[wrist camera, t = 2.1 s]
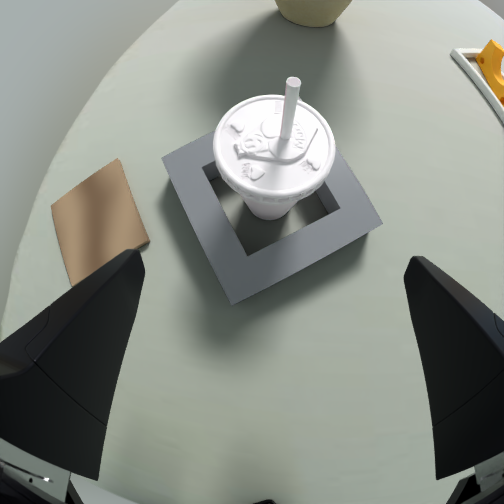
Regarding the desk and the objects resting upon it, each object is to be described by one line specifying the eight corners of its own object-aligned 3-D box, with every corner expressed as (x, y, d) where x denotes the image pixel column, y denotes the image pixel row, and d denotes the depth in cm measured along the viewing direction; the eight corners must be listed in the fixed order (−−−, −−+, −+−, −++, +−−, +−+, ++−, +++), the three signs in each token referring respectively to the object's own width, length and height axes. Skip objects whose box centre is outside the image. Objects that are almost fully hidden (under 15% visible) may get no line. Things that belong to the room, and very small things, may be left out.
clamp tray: (518, 150, 23) (524, 146, 22) (449, 53, 25) (453, 48, 24) (537, 135, 24) (541, 132, 22) (479, 53, 26) (482, 48, 24)
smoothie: (318, 222, 22) (391, 136, 9) (244, 247, 22) (219, 181, 8) (291, 155, 23) (318, 29, 9) (220, 176, 23) (180, 57, 9)
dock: (235, 303, 22) (231, 305, 19) (171, 172, 23) (161, 157, 20) (368, 231, 22) (383, 223, 19) (295, 115, 24) (299, 96, 21)
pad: (75, 286, 22) (72, 286, 22) (54, 207, 23) (50, 205, 23) (150, 241, 23) (147, 240, 22) (119, 160, 24) (117, 158, 23)
